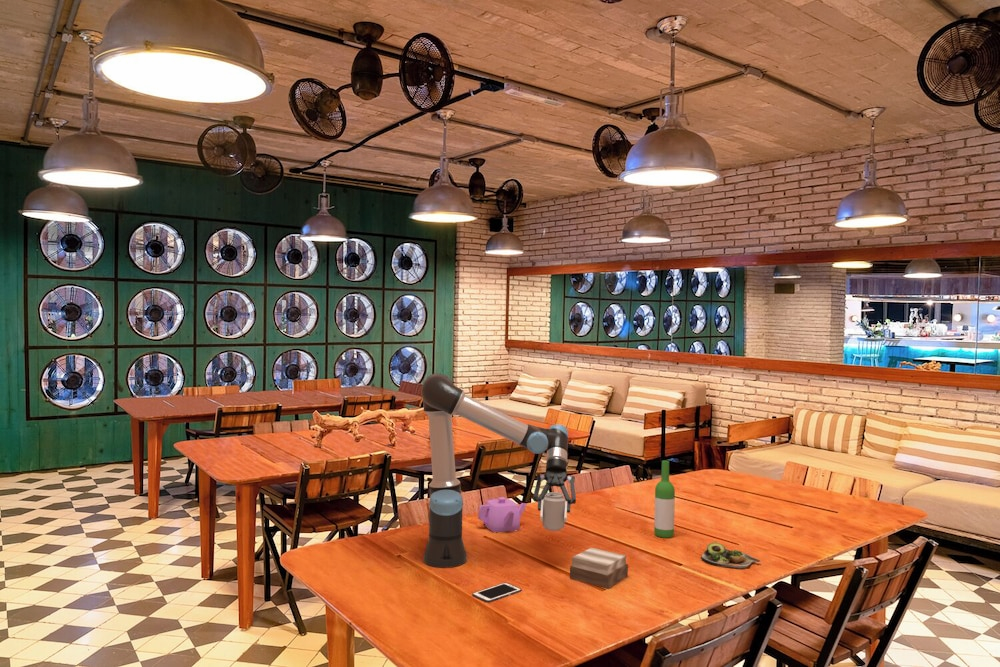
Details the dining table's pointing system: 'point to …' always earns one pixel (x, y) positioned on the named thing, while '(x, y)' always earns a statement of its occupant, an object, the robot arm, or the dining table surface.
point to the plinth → (598, 576)
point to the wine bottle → (664, 505)
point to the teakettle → (501, 514)
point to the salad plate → (726, 557)
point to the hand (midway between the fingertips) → (553, 519)
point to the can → (553, 511)
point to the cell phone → (496, 592)
